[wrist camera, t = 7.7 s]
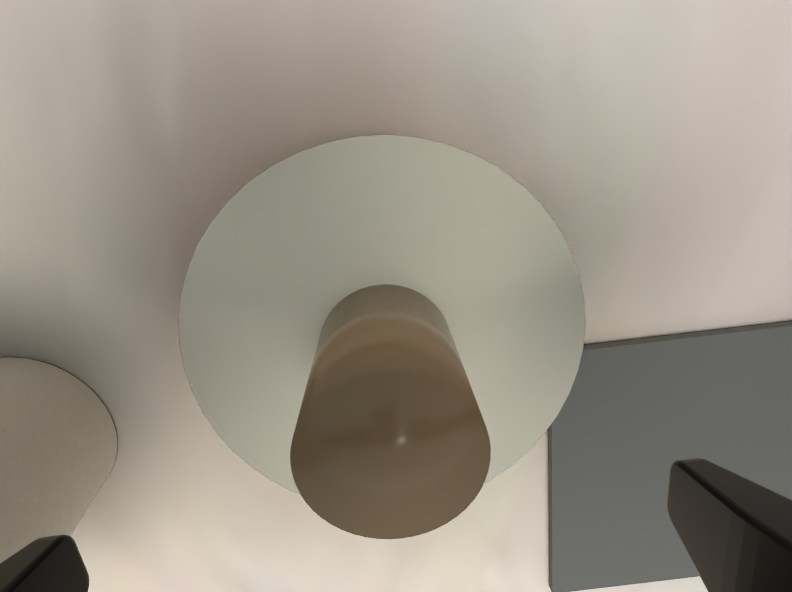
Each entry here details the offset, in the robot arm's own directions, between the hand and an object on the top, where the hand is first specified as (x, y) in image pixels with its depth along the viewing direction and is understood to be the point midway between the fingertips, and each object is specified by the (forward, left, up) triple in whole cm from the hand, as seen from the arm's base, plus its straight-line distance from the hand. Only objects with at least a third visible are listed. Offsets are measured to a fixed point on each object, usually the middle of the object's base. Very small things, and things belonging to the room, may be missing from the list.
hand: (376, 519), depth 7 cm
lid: (0, 0, -7) cm, 7 cm away
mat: (-12, +9, -11) cm, 19 cm away
